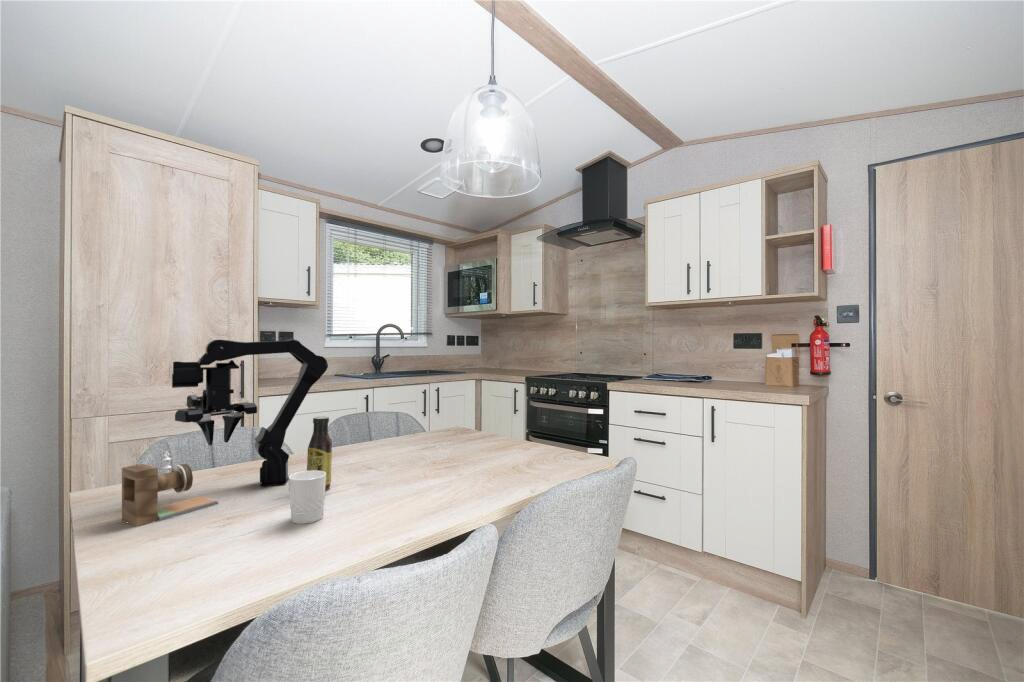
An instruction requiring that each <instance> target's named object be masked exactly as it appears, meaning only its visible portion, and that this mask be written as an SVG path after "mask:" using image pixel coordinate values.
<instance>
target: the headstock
mask: <svg viewBox="0 0 1024 682" xmlns="http://www.w3.org/2000/svg"><path fill="white" fill-rule="evenodd" d="M158 469H159V467H156V466H153V465H149V464H145V463H139V464H134V465H129V466H124V467H121V521H122V520H123V521H122V522H124V521H125V522H124V523H126V522H128V523H127V524H129V523H130V524H129V525H131V524H132V526H134V525H135V526H134V527H136V526H138V527H141V526H144V525H147V523H148V524H151V523H154V522H153V521H155V522H158V521H159V520H158V507H159V506H158V505H159V503H158V501H159V500H158V499H159V497H158V496H159V494H158V493H159V492H158V475H159V473H158V472H159V470H158ZM157 520H158V521H157ZM150 522H151V523H150ZM143 524H144V525H143ZM140 525H141V526H140Z"/></svg>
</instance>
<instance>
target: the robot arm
mask: <svg viewBox="0 0 1024 682" xmlns="http://www.w3.org/2000/svg"><path fill="white" fill-rule="evenodd" d="M286 353H289V354H290V355H291V356H292V357H293V358H294V359H295V360H296V361H297V362H299V363H300V364H301V366H300V369H299V372H298V376H297V380H296V382H295V384H294V386H293V387H292V389H291V390H290V393H289V394H288V396H287V398H286V399H285V401H284V403H283V404H282V406H281V408H280V410H279V411H278V413H277V415H276V416H275V417H274V419H273V421H272V423H271V424H270V425H269V426H268V427H267V428H265V427H263V426H261V428H260V431H259V433H258V435H257V436H256V437H255V438H254V441H255V442H254V450H255V451H256V453H257V454H258V455H259V456H260V458H262V459H264V461H263V462H261V467H260V468H259V483H260V484H259V485H260V487H266V486H269V485H270V486H280V485H286V484H287V483H288V482H289V458H290V455H289V454H288V453H287V452H286V451H285V450H284V449H283V448H282V447H283V445H284V441H285V437H286V433H287V429H288V428H289V426H290V424H291V423H292V421H293V419H294V417H295V416H296V414H297V412H298V410H299V409H300V407H301V405H302V404H303V402H304V400H305V398H306V396H307V395H308V393H309V391H310V390H311V388H312V386H313V385H315V384H316V382H317V381H318V380H320V378H321V377H323V375H324V374H325V373H326V371H327V370H328V367H329V363H328V361H327V359H326V358H325V357H324V356H323V355H322V356H321V355H317V354H315V353H314V352H313V351H312V350H310V349H308V348H307V347H306V346H305V345H303V343H301V341H299V340H297V339H294V338H293V339H292V338H291V339H287V340H269V341H267V340H266V341H264V340H263V341H249V342H248V341H246V342H245V341H238V340H237V341H236V340H228V339H213V340H211V341H210V342H208V343H207V344H206V346H205V352H204V354H203V355H202V356H201V357H199V359H198V360H197V361H173V362H172V373H171V387H172V388H171V389H176V388H177V389H178V388H179V389H181V388H197V387H199V384H201V383H202V384H203V383H204V370H205V389H203V390H202V395H201V396H199V395H198V394H192V395H191V394H189V395H188V396H187V397H186V406H187V408H183V409H177V410H176V412H175V415H174V421H175V422H180V423H181V422H182V423H196V424H197V425H198V426H199V428H200V430H201V431H202V433H203V436H204V438H205V441H206V443H207V444H208V446H212V445H213V443H214V432H215V420H214V419H211V418H212V417H214V416H221V415H222V420H223V423H224V424H223V425H224V427H223V441H224V443H229V441H230V439H231V437H232V435H233V433H234V431H235V429H236V427H237V426H238V425H239V423H240V421H241V420H242V419H244V418H245V416H244V415H242V413H245V414H246V415H252V414H258V406H257V404H256V403H254V402H245V401H244V402H236V403H233V404H232V397H231V396H232V394H234V392H235V391H234V390H235V389H232V377H231V376H232V373H231V372H232V370H234V369H237V370H238V369H240V366H239V365H238V364H236V363H235V361H234V360H233V359H236V358H237V359H238V358H240V357H245V356H254V355H256V356H257V355H269V354H270V355H271V354H286ZM226 360H227V361H228V360H229V361H228V362H222V361H226ZM214 362H216V363H215V366H209V365H212V364H213V363H214ZM318 382H319V381H318Z"/></svg>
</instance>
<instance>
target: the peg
mask: <svg viewBox="0 0 1024 682" xmlns="http://www.w3.org/2000/svg"><path fill="white" fill-rule="evenodd" d="M193 476H194V474H193V471H192V468H191V467H190V466H189V464H188V463H182V464H176V465H174V466H173V467H171V470H170V471H169V473H165V474H164V473H161V474H158V493H159V492H163V491H167V490H168V489H169V490H172V488H173V491H175V492H176V493H182V492H186V491H189V490H190V489H191V488H192V486H193V481H194V478H193Z"/></svg>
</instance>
